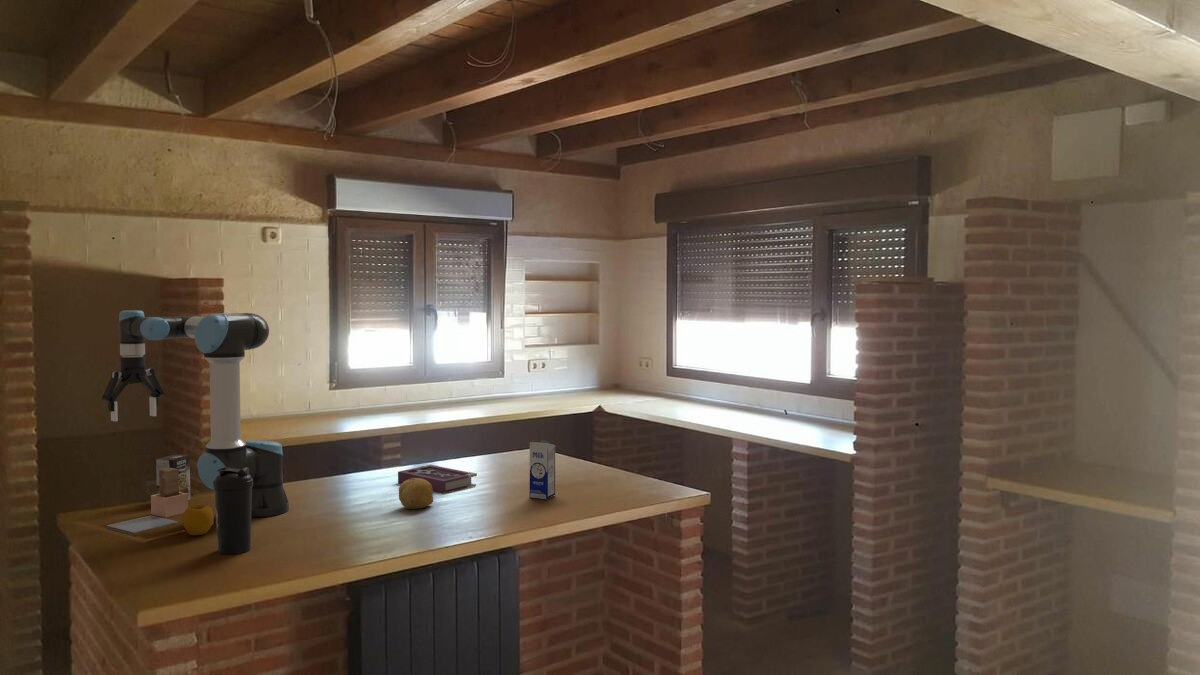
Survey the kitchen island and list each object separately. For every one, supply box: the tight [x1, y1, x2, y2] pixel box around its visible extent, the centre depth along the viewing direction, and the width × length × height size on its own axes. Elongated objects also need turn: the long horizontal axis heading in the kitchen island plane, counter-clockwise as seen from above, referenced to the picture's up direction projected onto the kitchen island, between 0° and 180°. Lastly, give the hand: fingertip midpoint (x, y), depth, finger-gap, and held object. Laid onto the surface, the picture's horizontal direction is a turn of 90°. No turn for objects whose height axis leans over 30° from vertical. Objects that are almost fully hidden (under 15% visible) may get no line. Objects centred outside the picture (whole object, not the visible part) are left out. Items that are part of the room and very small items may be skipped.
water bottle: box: [213, 467, 253, 556], centre depth 243 cm, size 10×10×23 cm
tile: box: [106, 514, 179, 537], centre depth 266 cm, size 14×14×1 cm
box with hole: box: [150, 492, 189, 519], centre depth 278 cm, size 8×8×7 cm
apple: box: [181, 504, 215, 537], centre depth 258 cm, size 8×8×9 cm
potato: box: [398, 478, 434, 510], centre depth 292 cm, size 10×12×10 cm
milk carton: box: [529, 439, 556, 500], centre depth 308 cm, size 7×7×20 cm
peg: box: [159, 468, 179, 498], centre depth 278 cm, size 4×4×14 cm
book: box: [397, 463, 478, 494], centre depth 326 cm, size 25×16×5 cm, turn 52°
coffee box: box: [155, 454, 191, 500], centre depth 293 cm, size 9×6×16 cm
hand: (134, 418), depth 298 cm, fingers open, 13 cm apart
